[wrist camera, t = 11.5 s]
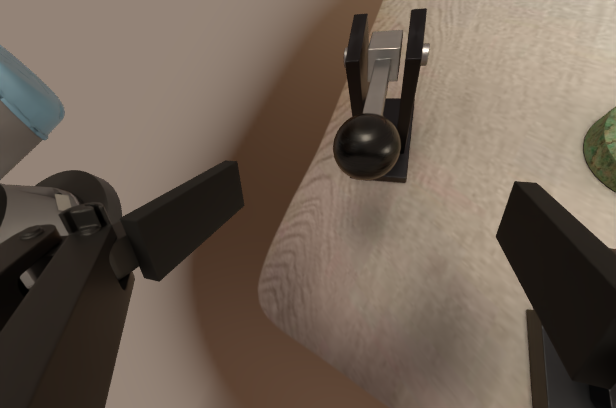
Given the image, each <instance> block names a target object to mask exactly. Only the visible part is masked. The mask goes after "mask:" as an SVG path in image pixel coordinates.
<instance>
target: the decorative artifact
mask: <svg viewBox="0 0 616 408" xmlns="http://www.w3.org/2000/svg"><path fill="white" fill-rule="evenodd" d="M584 154H585V158H586V161H587V163H588V165H589V167H590V169H591V170H592V172H593V173H594V174H595V175H596V177H597V178H598V179H599V180H600V181H601V182H603V183H604V184H605V185H606V186H608V187H609V188H610V189H612V190H614V191H615V192H616V107H615V108H613V109H612V110H611V111H610V112H608V113H607V114H606V115H604V116H603V117H602V118H601V119H599V120H598V121H597V122H596V123H595V124H594V125H593V126H592V127H591V128H590V130H589V131H588V133H587V135H586V137H585V141H584Z"/></svg>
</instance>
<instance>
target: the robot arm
mask: <svg viewBox="0 0 616 408" xmlns="http://www.w3.org/2000/svg"><path fill="white" fill-rule="evenodd" d="M64 114H65V111H64V107H63V104H62V103H61V101H60V100H59V99H58V97H57V96H56V95H55V93H54V92H53V91H52V90H51V89H50V88H49V87H48V86H47V85H46V84H45V83H44V82H43V81H42V80H41V79H40V78H39V77H37V76H36V75H35V74H34V73H33V72H32V71H31V70H30V69H29V68H27V67H26V66H25V65H24V64H23V63H22V62H21V61H19V60H18V59H17V58H16V57H15V56H13V55H12V54H11V53H10V52H9V51H7V50H6V49H5V48H4V47H2V46H1V45H0V180H1V179H2V178H3V177H4V176H5V175H6V174H7V173H8V172H9V171H10V170H11V169H12V168H13V167H15V165H16V164H18V163H19V162H20V161H21V160H22V159H23V158H24V157H25V156H26V155H27V154H28V153H29V152H30V151H32V149H34V148H35V147H36V146H37V145H38V144H39V143H40V142H41V141H42V140H47V139H48V134H49V133H50V132H51V131H52V130H53V129H54V128H55V127H56V126H57V125H58V124H59V123H60V122H61V120H62V119H63V118H64ZM243 206H244V200H243V194H242V188H241V182H240V176H239V170H238V163H237V161H224V162H222V163H220V164H218V165H216V166H214V167H213V168H211V169H209V170H207V171H205V172H204V173H202V174H200V175H198V176H196V177H194V178H193V179H191V180H189V181H187V182H185V183H183V184H182V185H180V186H178V187H176V188H174V189H172V190H171V191H169V192H167V193H165V194H163V195H161V196H160V197H158V198H156V199H154V200H152V201H151V202H149V203H147V204H145V205H143V206H141V207H140V208H138V209H136V210H134V211H132V212H130V213H129V214H127V215H125V216H123V217H121V218H120V221H118V222H116V223H115V224H113V225H112V224H111V221H110V219H109V217H108V214H107V212H106V210H105V207H104V205H103V204H102V203H100V202H91V203H83V202H82V200H81V199H80V198H79V197H78V196H77V195H76V194H74V193H71V192H68V191H65V190H62V189H57V188H52V187H36V186H20V185H5V184H0V408H105V404H106V400H107V396H108V392H109V387H110V383H111V379H112V375H113V370H114V366H115V362H116V357H117V353H118V349H119V345H120V340H121V336H122V332H123V328H124V323H125V319H126V315H127V311H128V306H129V302H130V297H131V294H132V289H133V285H134V281H135V278H134V274H133V272H132V271H133V270H135V269H136V268H137V267H140V269H141V272H142V274H143V276H144V278H146V279H151V280H155V281H161V280H162V279H163V278H164V277H165V276H166V275H167V274H168V273H169V272H170V271H172V270H173V269H174V268H175V267H176V266H177V265H178V264H180V263H181V262H182V261H183V260H184V259H185V258H186V257H187V256H188V255H190V254H191V253H192V252H193V251H194V250H195V249H196V248H197V247H198V246H200V245H201V244H202V243H203V242H204V241H205V240H206V239H207V238H209V237H210V236H211V235H212V234H213V233H214V232H215V231H216V230H217V229H219V228H220V227H221V226H222V225H223V224H224V223H225V222H226V221H228V220H229V219H230V218H231V217H232V216H233V215H234V214H235V213H237V211H239V210H240V209H241V208H242V207H243ZM496 238H497V240H498V242H499V244H500V246H501V248H502V250H503V251H504V253H505V255H506V257H507V259H508V261H509V263H510V265H511V267H512V269H513V270H514V272H515V274H516V276H517V278H518V280H519V282H520V284H521V286H522V287H523V289H524V291H525V293H526V295H527V297H528V299H529V301H530V303H531V304H532V306H533V308H534V310H535V312H536V314H537V316H538V318H539V320H540V322H541V323H542V325H543V327H544V329H545V331H546V333H547V335H548V337H549V339H550V340H551V342H552V344H553V346H554V348H555V350H556V352H557V354H558V356H559V357H560V359H561V361H562V363H563V365H564V367H565V369H566V371H567V373H568V375H569V376H570V378H571V380H572V381H576V382H580V383H584V384H588V385H593V386H597V387H601V388H605V389H609V390H610V389H611V388H612V387H613V386H614V385H615V383H616V249H610V248H608V247H607V246H606V245H605V244H604V243H603V242H601V241H600V240H599V239H598V238H597V237H596V236H595V235H594V234H593V233H592V232H590V231H589V230H588V229H587V228H586V227H585V226H584V225H583V224H582V223H580V222H579V221H578V220H577V219H576V218H575V217H574V216H573V215H572V214H571V213H569V212H568V211H567V210H566V209H565V208H564V207H563V206H562V205H561V204H559V203H558V202H557V201H556V200H555V199H554V198H553V197H552V196H551V195H549V194H548V193H547V192H546V191H545V190H544V189H543V188H542V187H541V186H540V185H538V184H537V183H531V182H517V181H515V182H514V185H513V188H512V190H511V193H510V196H509V199H508V202H507V205H506V208H505V211H504V214H503V217H502V220H501V223H500V226H499V229H498V231H497V234H496ZM27 288H31V289H30V290H29V289H27Z"/></svg>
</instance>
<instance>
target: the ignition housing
mask: <svg viewBox="0 0 616 408" xmlns="http://www.w3.org/2000/svg"><path fill="white" fill-rule="evenodd" d="M527 324H528V339H529V355H530V370H531V386H532V401H533V408H616V383H615V385H614V386H613V387H612V388H611V389H610V390H609V389H605V388H601V387H597V386H593V385H588V384H584V383H580V382H576V381H572V380H571V378H570V376H569V375H568V373H567V371H566V369H565V367H564V365H563V363H562V361H561V359H560V357H559V356H558V354H557V352H556V350H555V348H554V346H553V344H552V342H551V340H550V339H549V337H548V335H547V333H546V331H545V329H544V327H543V325H542V323H541V322H540V320H539V318H538V316H537V314H536V312H535V310H527Z"/></svg>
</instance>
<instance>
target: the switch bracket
mask: <svg viewBox="0 0 616 408" xmlns="http://www.w3.org/2000/svg"><path fill="white" fill-rule="evenodd" d="M426 12H427V9H426V8H425V9H414V10H412V11H411V18H410V26H409V34H408V43H407V51H406V59H405V68H404V76H403V84H402V93H401V99H386V100H385V106H384V111H383V117H385V118H387V119H388V120H389V121H391V123H392V124H393V125H394V126H395V127H396V129H397V131H398V133H399V136H400V142H401V149H400V154H399V157H398V160H397V162H396V163H395V165H394V166H393V168H392V169H391V170H390V171H389V172H387V173H386V174H385V175H383V176H381V177H379V178H377V179H373V180H380V181H392V182H403V183H405V182H406V178H407V168H408V159H409V149H410V139H411V130H412V120H413V110H414V101H415V99H414V98H415V93H416V87H417V82H418V77H419V71H420V66H426V65H427V61H428V55H429V48H430V44H429V43H425V44H423V42H424V32H425V22H426ZM368 47H369V37H368V14H357V15H354V19H353V23H352V29H351V34H350V39H349V44H348V48H346V49H345V51H344V66H345V68H346V73H347V80H348V87H349V95H350V102H351V109H352V116H356V115H358V114H362V113H363V109H364V105H365V101H366V97H367V93H368V89H369V84H370V82H368V81H367V78H368ZM350 178H352V177H350Z"/></svg>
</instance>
